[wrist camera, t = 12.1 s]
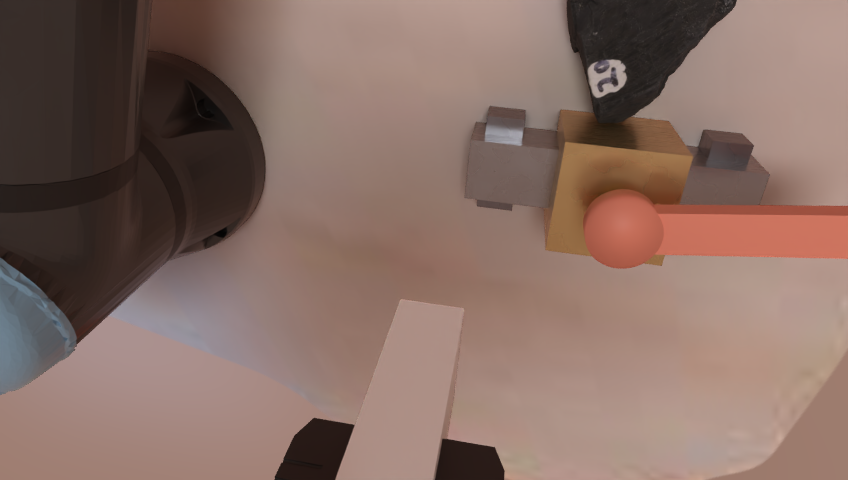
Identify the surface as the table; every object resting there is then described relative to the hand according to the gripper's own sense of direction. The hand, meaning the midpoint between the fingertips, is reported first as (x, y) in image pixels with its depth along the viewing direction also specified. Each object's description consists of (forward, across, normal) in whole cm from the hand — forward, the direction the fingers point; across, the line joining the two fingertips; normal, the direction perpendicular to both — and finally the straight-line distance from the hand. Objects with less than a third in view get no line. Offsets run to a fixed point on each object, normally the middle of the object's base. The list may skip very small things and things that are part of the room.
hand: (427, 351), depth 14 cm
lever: (+20, +13, -4) cm, 24 cm away
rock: (+30, +8, +5) cm, 31 cm away
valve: (+29, +8, -5) cm, 31 cm away
